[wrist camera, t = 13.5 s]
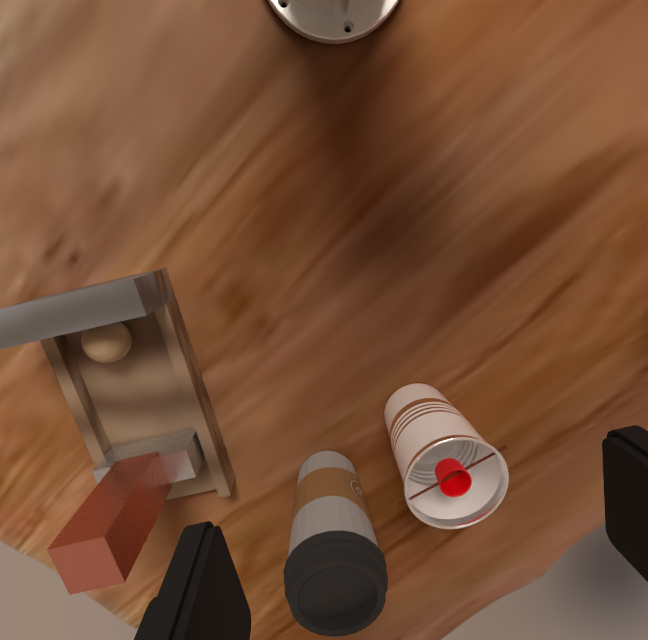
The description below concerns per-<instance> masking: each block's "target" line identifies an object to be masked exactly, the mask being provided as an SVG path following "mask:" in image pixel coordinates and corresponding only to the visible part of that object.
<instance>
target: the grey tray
mask: <svg viewBox="0 0 648 640" xmlns="http://www.w3.org/2000/svg"><path fill="white" fill-rule="evenodd" d="M116 322H121V323H123V324H124V325H125V326H126V327H127V328H128V329H129V331H130V333H131V337H132V343H131V347H130V349H129V351H128V352H127V354H126V355H125V356H124V357H122V358H121V359H119V360H117V361H114V362H109V363H103V362H98V361H95V360H93V359H91V358H90V357H89V356H88V355H87V354H86V353H85V352H84V350H83V348H82V335H83V333H84V331H85V330H86V329H90V328H94V327H99V326H103V325H107V324H112V323H116ZM38 340H41V343H42V345H43V347H44V350H45V352H46V354H47V356H48V359H49V361H50V363H51V366H52V368H53V370H54V372H55V375H56V377H57V379H58V382H59V384H60V386H61V388H62V391H63V393H64V395H65V398H66V400H67V402H68V404H69V407H70V409H71V411H72V414H73V416H74V418H75V421H76V423H77V425H78V427H79V430H80V432H81V434H82V437H83V439H84V441H85V443H86V446H87V448H88V450H89V453H90V455H91V457H92V459H93V462H94V464H95V466H97V465H98V464H99V462H100V461H101V460H102V459H103V458H104V456H105V455H106V454H107V453H108V452H109V451H110V449H111V448H112V447H114V446H119V445H123V444H128V443H132V442H136V441H141V440H145V439H149V438H154V437H158V436H163V435H167V434H171V433H176V432H180V431H185V430H189V429H193V428H195V429H196V432H197V435H198V438H199V441H200V444H201V446H202V449H203V452H204V455H205V457H204V459H203V462H202V464H201V466H200V469H199V471H198V473H197V476H196V477H194V478H190V479H185V480H181V481H177V482H172V483H171V486H172V488H171V490H170V492H169V494H168V496H167V498H166V500H171V499H175V498H179V497H184V496H188V495H193V494H197V493H201V492H206V491H210V490H215V489H217V492H218V495H219V498H222V497H226V496H230V495H231V492H232V489H233V485H234V481H235V476H234V473H233V470H232V467H231V464H230V461H229V458H228V455H227V452H226V449H225V445H224V442H223V439H222V436H221V433H220V430H219V427H218V424H217V421H216V418H215V415H214V412H213V409H212V406H211V403H210V400H209V397H208V394H207V391H206V388H205V385H204V382H203V379H202V376H201V373H200V370H199V367H198V364H197V361H196V358H195V355H194V352H193V349H192V346H191V343H190V340H189V337H188V334H187V331H186V328H185V325H184V322H183V319H182V316H181V313H180V310H179V307H178V304H177V301H176V298H175V295H174V292H173V289H172V286H171V283H170V280H169V277H168V274H167V271H166V268H162V269H158V270H153V271H149V272H145V273H140V274H136V275H132V276H128V277H123V278H119V279H115V280H110V281H106V282H102V283H97V284H93V285H89V286H85V287H80V288H76V289H72V290H67V291H63V292H59V293H54V294H50V295H46V296H42V297H39V298H35V299H32V300H29V301H25V302H22V303H18V304H15V305H12V306H8V307H5V308H2V309H0V348H1V349H4V348H8V347H12V346H17V345H21V344H25V343H29V342H34V341H38ZM166 500H165V501H166Z"/></svg>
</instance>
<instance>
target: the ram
mask: <svg viewBox="0 0 648 640" xmlns="http://www.w3.org/2000/svg"><path fill="white" fill-rule="evenodd" d="M204 457H205V455H204V452H203V449H202V446H201V444H200V441H199V438H198V435H197V432H196V429H195V428H193V429H189V430H185V431H180V432H176V433H171V434H167V435H163V436H158V437H154V438H149V439H145V440H141V441H136V442H132V443H128V444H123V445H119V446H114V447H112V448H111V449H110V451H109V452H108V453H107V454H106V455H105V456H104V458H103V459H102V460H101V461H100V462H99V464H98V465H97V466H96V467H95V468H94V470H93V471H92V472H93V475H94V477H95V479H96V482H97V484H98V485H97V486H96V487H95V489H94V490H93V491H92V492H91V494H90V495H89V496H88V498H87V499H86V500H85V501H84V503H83V504H82V505H81V507H80V508H79V509H78V510H77V512H76V513H75V514H74V516H73V517H72V518H71V519H70V521H69V522H68V523H67V525H66V526H65V527H64V528H63V530H62V531H61V532H60V534H59V535H58V536H57V537H56V539H55V540H54V541H53V543H52V544H51V545H50V546H49V548H48V549H47V551H48V553H49V555H50V557H51V559H52V561H53V563H54V565H55V567H56V569H57V571H58V573H59V574H60V576H61V578H62V580H63V582H64V584H65V586H66V588H67V590H68V592H69V594H70V595H71V594H75V593H80V592H84V591H89V590H93V589H98V588H102V587H106V586H111V585H115V584H120V583H124V582H125V581H126V579H127V577H128V575H129V573H130V571H131V569H132V567H133V565H134V563H135V561H136V559H137V557H138V555H139V553H140V551H141V549H142V547H143V545H144V543H145V541H146V539H147V537H148V535H149V533H150V531H151V529H152V527H153V525H154V523H155V521H156V519H157V517H158V515H159V513H160V510H161V508H162V506H163V504H164V502H165V500H166V498H167V496H168V494H169V492H170V490H171V488H172V486H171V483H172V482H177V481H181V480H185V479H190V478H194V477H196V476H197V473H198V471H199V469H200V466H201V464H202V462H203V459H204Z"/></svg>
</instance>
